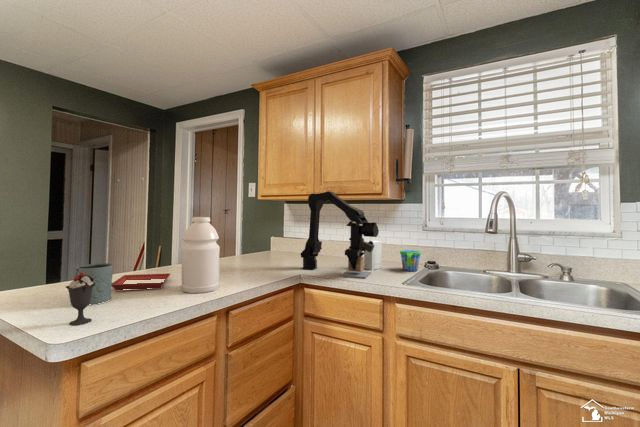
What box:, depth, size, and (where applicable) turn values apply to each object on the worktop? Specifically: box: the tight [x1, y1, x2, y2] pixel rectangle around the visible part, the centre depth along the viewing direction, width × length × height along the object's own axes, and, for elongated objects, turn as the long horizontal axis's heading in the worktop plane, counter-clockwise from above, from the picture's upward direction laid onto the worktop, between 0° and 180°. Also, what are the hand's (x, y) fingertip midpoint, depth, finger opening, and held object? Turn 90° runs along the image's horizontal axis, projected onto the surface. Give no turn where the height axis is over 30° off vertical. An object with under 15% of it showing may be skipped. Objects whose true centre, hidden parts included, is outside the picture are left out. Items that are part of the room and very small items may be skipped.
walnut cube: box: [347, 256, 364, 272], centre depth 150 cm, size 6×6×6 cm
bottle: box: [180, 216, 221, 294], centre depth 122 cm, size 14×14×28 cm
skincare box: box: [363, 240, 383, 271], centre depth 167 cm, size 8×6×15 cm
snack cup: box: [399, 249, 422, 272], centre depth 164 cm, size 16×10×10 cm
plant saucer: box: [111, 273, 171, 291], centre depth 126 cm, size 18×18×3 cm
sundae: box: [65, 268, 96, 326], centre depth 85 cm, size 7×7×15 cm
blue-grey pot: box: [75, 262, 114, 305], centre depth 104 cm, size 10×10×12 cm
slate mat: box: [339, 269, 372, 280], centre depth 150 cm, size 12×12×1 cm
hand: (355, 268), depth 150 cm, fingers closed on walnut cube, 6 cm apart
